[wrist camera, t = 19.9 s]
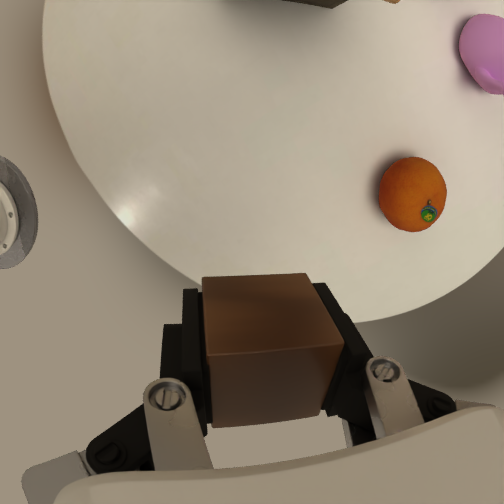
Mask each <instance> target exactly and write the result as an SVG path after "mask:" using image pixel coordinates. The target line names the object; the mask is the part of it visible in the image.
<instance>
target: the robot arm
mask: <svg viewBox="0 0 504 504" xmlns="http://www.w3.org/2000/svg"><path fill="white" fill-rule="evenodd" d="M18 227H19V222H18V213H17V209H16V205H15V202H14V200H13V198H12V196H11V194H10V193H9V191H8V190H7V188H6V187H5V186H4V185H3V184H2V183H1V182H0V255H1V254H3V253H5V252H6V251H7V250H9V249H10V247H11V246H12V245H13V244H14V242H15V240H16V237H17V234H18ZM312 285H313V286H314V288H315V290H316V292H317V293H318V295H319V297H320V299H321V300H322V302H323V304H324V306H325V307H326V309H327V311H328V313H329V315H330V316H331V318H332V320H333V322H334V324H335V325H336V327H337V329H338V331H339V333H340V334H341V336H342V338H343V340H344V346H343V349H342V352H341V354H340V357H339V360H338V363H337V366H336V369H335V372H334V375H333V377H332V380H331V383H330V386H329V389H328V391H327V394H326V397H325V399H324V402H323V405H322V407H321V410H325V411H326V414H327V416H328V417H330V416H335V415H338V417H340V418H342V424H343V429H344V434H345V439H346V445H347V448H345V449H341V450H337V451H333V452H329V453H325V454H320V455H315V456H311V457H306V458H300V459H295V460H289V461H282V462H276V463H269V464H263V465H254V466H246V467H236V468H222V469H214V468H213V465H212V462H211V459H210V456H209V453H208V450H207V447H206V444H205V440H204V437H205V436H206V435H207V424H209V423H213V417H212V404H211V389H210V373H209V365H208V364H207V359H206V345H205V331H204V315H203V297H202V292H198V289H197V288H196V289H183V311H182V324H164V328H163V339H162V352H161V367H160V379H157V380H156V381H153V382H152V383H150V384H149V385H148V386H147V387H146V389H145V391H144V393H143V402H144V403H143V404H142V405H140V406H139V407H138V408H136V409H135V410H134V411H132V412H131V413H130V414H128V415H127V416H126V417H124V418H123V419H121V420H120V421H118V422H117V423H116V424H114V425H113V426H111V427H110V428H109V429H107V430H106V431H105V432H103V433H101V434H100V435H99V436H97V437H96V438H94V439H93V440H92V441H91V442H90V443H89V445H88V447H87V448H86V450H84V451H82V452H79V453H78V452H77V450H76V451H74V452H71V453H68V454H66V455H63V456H61V457H58V458H56V459H53V460H50V461H47V462H45V463H42V464H39V465H36V466H33V467H31V468H29V469H27V470H26V471H25V473H24V474H23V476H22V488H23V490H24V493H25V496H26V498H27V501H28V503H29V504H504V410H503V409H501V408H498V407H496V406H494V405H491V404H484V403H477V402H470V401H463V400H456V401H455V402H454V401H453V400H452V398H451V397H449V396H448V395H446V394H445V393H443V392H440V391H437V390H435V389H432V388H429V387H427V386H424V385H421V384H419V383H416V382H414V381H411V380H409V379H407V377H406V374H405V372H404V370H403V368H402V366H401V365H400V364H399V363H398V362H397V361H396V360H394V359H392V358H390V357H386V356H377V357H373V355H372V353H371V352H370V350H369V348H368V347H367V345H366V343H365V342H364V340H363V338H362V337H361V335H360V333H359V332H358V330H357V329H356V327H355V325H354V324H353V322H352V320H351V319H350V317H349V316H348V315H347V314H346V313H344V312H343V310H342V309H341V307H340V306H339V304H338V302H337V301H336V299H335V298H334V296H333V294H332V293H331V291H330V290H329V288H328V286H327V285H326V284H325V283H312Z"/></svg>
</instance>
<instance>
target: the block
mask: <svg viewBox="0 0 504 504" xmlns="http://www.w3.org/2000/svg"><path fill="white" fill-rule="evenodd" d="M202 297H203V315H204V331H205V345H206V359H207V364H208V365H209V373H210V389H211V404H212V417H213V423H211V425H212V427H213V428H222V427H236V426H247V425H258V424H266V423H274V422H282V421H289V420H295V419H301V418H308V417H313V416H317V415H319V413H320V410H321V407H322V405H323V402H324V399H325V397H326V394H327V391H328V389H329V386H330V383H331V380H332V377H333V375H334V372H335V369H336V366H337V363H338V360H339V357H340V354H341V352H342V349H343V346H344V340H343V338H342V336H341V334H340V333H339V331H338V329H337V327H336V325H335V324H334V322H333V320H332V318H331V316H330V315H329V313H328V311H327V309H326V307H325V306H324V304H323V302H322V300H321V299H320V297H319V295H318V293H317V292H316V290H315V288H314V286H313V285H312V283H311V281H310V279H309V278H308V276H307V274H306V273H293V274H270V275H245V276H216V277H202Z"/></svg>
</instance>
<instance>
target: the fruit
mask: <svg viewBox="0 0 504 504" xmlns="http://www.w3.org/2000/svg"><path fill="white" fill-rule="evenodd" d="M446 195H447V189H446V184H445V181H444V179H443V177H442V175H441V174H440V172H439V170H438V169H437V167H435V166H434V165H433V164H432V163H430V162H429V161H427V160H425V159H422V158H419V157H409V158H403V159H400V160H398V161H396V162H395V163H393V164H392V166H390V167H389V168H388V169H387V170H386V172H385V173H384V175H383V177H382V179H381V182H380V189H379V205H380V208H381V210H382V212H383V213H384V215H385V217H386V218H387V220H388V221H389V222H390V223H391V224H392V225H393V226H395V227H396V228H398V229H400V230H404V231H409V232H419V231H422V230H425V229H427V228H429V227H430V226H431V225H432V224H433V223H434V222H435V221H436V220H437V219H438V218H439V216H440V215H441V213H442V211H443V209H444V206H445V201H446Z"/></svg>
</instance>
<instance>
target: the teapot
mask: <svg viewBox="0 0 504 504" xmlns="http://www.w3.org/2000/svg"><path fill="white" fill-rule="evenodd" d="M459 52H460V56H461V58H462V60H463V62H464V64H465V66H466V68H467V69H468V71H469V72H470V74H471V75H472V77H473V78H474V79H475V81H476V82H477V83H478V84H479V85H480V86H481V87H482V88H483V89H484V90H485V91H486V92H488V93H490V94H503V95H504V18H501V17H499V16H495V15H490V14H478V15H475V16H474V17H472V18H471V19H470V20H469V21H468V22H467V23H466V25H465V26H464V28H463V30H462V33H461V36H460V40H459Z"/></svg>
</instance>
